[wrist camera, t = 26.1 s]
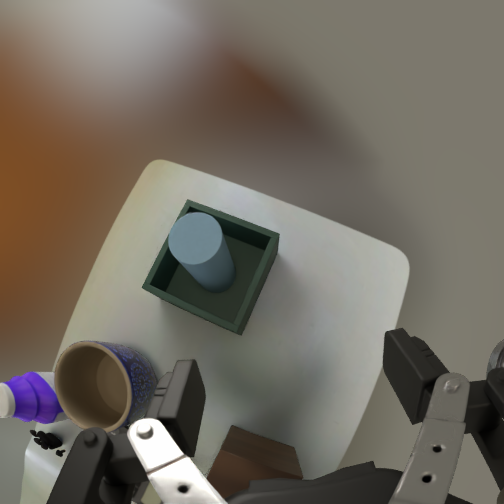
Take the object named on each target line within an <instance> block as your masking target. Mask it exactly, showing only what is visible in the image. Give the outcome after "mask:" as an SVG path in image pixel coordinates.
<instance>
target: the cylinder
mask: <svg viewBox="0 0 504 504" xmlns="http://www.w3.org/2000/svg"><path fill="white" fill-rule="evenodd" d="M168 244H169V248H170V251H171V253H172V254H173V256H174V257H175V258H176V259H177V260H178V261H179V262H180V263H181V264H182V266H183V267H184V268H185V269H186V270H187V271H188V272H189V273H190V274H191V275H192V276H193V277H194V278H195V279H196V280H197V282H198V283H199V284H200V285H201V286H202V287H203V288H204V289H206V290H207V291H209V292H212V293H220V292H224V291H226V290H227V289H229V288H230V287H231V286H232V284H233V283H234V281H235V278H236V270H235V266H234V264H233V261H232V258H231V255H230V252H229V250H228V247H227V244H226V241H225V238H224V236H223V233H222V230H221V227H220V225H219V223H218V222H217V221H216V220H215V219H214V218H213V217H212V216H210V215H208V214H205V213H199V212H198V213H190V214H187V215H185V216H183V217H181V218H180V219H179V220H177V221H176V222H175V224H174V225H173V226H172V228H171V230H170V233H169V238H168Z"/></svg>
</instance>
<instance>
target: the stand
mask: <svg viewBox="0 0 504 504" xmlns="http://www.w3.org/2000/svg"><path fill="white" fill-rule="evenodd" d="M273 478H288V479H303V475H302V471H301V468H300V465H299V462H298V458H297V455H296V452H295V448H294V447H291V446H288V445H285V444H282V443H279V442H276V441H273V440H270V439H267V438H265V437H262V436H259V435H256V434H254V433H251V432H248V431H246V430H243V429H240V428H238V427H235V426H233V425H232V426H231V428H230V430H229V432H228V434H227V436H226V438H225V440H224V443H223V445H222V447H221V449H220V451H219V453H218V455H217V457H216V459H215V461H214V464H213V466H212V468H211V470H210V472H209V474H208V476H207V478H206V479H207V481H208V482H209V483H210V484H211V485H212V486H213V488H214V489H215V490H216V491H217V492H218V493H219V494H220V495H221V497H222V498H223V499H225V498H226V497H228V496H230V495H232V494H234V493H236V492H238V491H241V490H244V489H248V488H249V480H261V479H273Z"/></svg>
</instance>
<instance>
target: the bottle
mask: <svg viewBox="0 0 504 504" xmlns="http://www.w3.org/2000/svg"><path fill="white" fill-rule="evenodd" d="M54 374H55V372H27V373H25V374H24V375H23V376H21V377H20V376H14V377H13V378H12V379H11V380H10V381H8V382H3V383H1V382H0V417H2V418H5V417H7V418H10V417H16V418H19V419H21V420H22V421H25V422H29V421H32V420H34V421H36V422H40V423H43V424H48V423H54V422H58V421H63V420H67V419H69V417H68V416H67V415H66V414H65V412H64V411H63V409H62V407H61V405H60V403H59V401H58V398H57V395H56V391H55V385H54Z"/></svg>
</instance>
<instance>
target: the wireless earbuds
mask: <svg viewBox="0 0 504 504" xmlns="http://www.w3.org/2000/svg"><path fill="white" fill-rule="evenodd" d="M30 433H31V434H32V435H33V436H35V437H39V438H40V439H39V438H34V441H35V442H36V443H37V444H38V445H41V447H42V448H43V449H45V450H47V449H48V448H49V449H55V448H58V447H60V446H61V445H62V442H61V440H60V439H58V438H57V437H56V436H55V435H53V434H52V433H46V434H45V433H44V432H43V431H39V432H38V433H37V432H36V431H35V430H30ZM36 433H37V434H36ZM63 452H65V450H61V451H60V450H57V451H56V455H58V456H60V457H62V456H63V454H62V453H63Z"/></svg>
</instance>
